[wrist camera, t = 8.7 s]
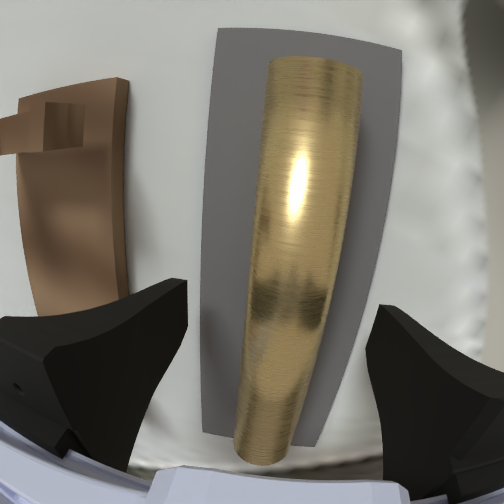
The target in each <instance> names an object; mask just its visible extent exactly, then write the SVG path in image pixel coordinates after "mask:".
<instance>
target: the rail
mask: <svg viewBox="0 0 504 504" xmlns="http://www.w3.org/2000/svg"><path fill="white" fill-rule="evenodd" d="M362 89H363V73H362V72H361V71H359V70H358V69H356V68H355V67H352V66H350V65H348V64H345V63H342V62H338V61H335V60H330V59H325V58H319V57H309V56H289V57H281V58H276V59H273V60H271V61H270V62H269V63H268V67H267V78H266V89H265V99H264V110H263V121H262V132H261V143H260V154H259V164H258V175H257V186H256V197H255V208H254V219H253V230H252V241H251V252H250V263H249V274H248V285H247V296H246V307H245V318H244V329H243V340H242V351H241V363H240V374H239V385H238V396H237V407H236V419H235V430H234V441H233V444H234V449H235V451H236V453H237V454H238V455H239V456H240V457H241V458H242V459H243V460H245V461H247V462H249V463H251V464H255V465H271V464H274V463H277V462H278V461H280V460H282V459H283V458H284V457H285V456H286V454H287V452H288V450H289V447H290V444H291V441H292V438H293V435H294V432H295V429H296V426H297V423H298V420H299V417H300V414H301V410H302V407H303V404H304V401H305V397H306V394H307V391H308V387H309V384H310V380H311V377H312V373H313V370H314V366H315V362H316V359H317V355H318V351H319V347H320V344H321V340H322V336H323V332H324V328H325V324H326V319H327V315H328V311H329V307H330V302H331V298H332V293H333V289H334V284H335V279H336V275H337V270H338V265H339V260H340V255H341V249H342V244H343V239H344V233H345V227H346V221H347V215H348V209H349V203H350V196H351V190H352V183H353V176H354V168H355V160H356V152H357V143H358V134H359V124H360V114H361V102H362Z"/></svg>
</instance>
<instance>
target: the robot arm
mask: <svg viewBox="0 0 504 504" xmlns="http://www.w3.org/2000/svg"><path fill="white" fill-rule="evenodd" d="M187 327H188V303H187V280H182V279H176V278H170V279H167V280H164V281H162V282H159V283H157V284H155V285H153V286H150V287H148V288H146V289H144V290H141V291H139V292H137V293H134V294H132V295H129V296H127V297H124V298H122V299H119V300H117V301H114V302H111V303H108V304H105V305H102V306H98V307H95V308H91V309H87V310H82V311H77V312H72V313H67V314H60V315H52V316H39V317H12V316H4V317H2V318H1V319H0V504H504V373H503V372H500V371H498V370H495V369H493V368H490V367H488V366H486V365H484V364H482V363H479V362H477V361H475V360H473V359H471V358H469V357H468V356H466V355H464V354H462V353H461V352H459V351H457V350H456V349H454V348H452V347H451V346H449V345H448V344H446V343H445V342H443V341H442V340H441V339H439V338H438V337H436V336H435V335H434V334H432V333H431V332H430V331H428V330H427V329H426V328H424V327H423V326H422V325H420V324H419V323H418V322H417V321H415V320H414V319H413V318H411V317H410V316H409V315H408V314H406V313H405V312H403V311H402V310H401V309H399V308H397V307H396V306H392V305H381V304H379V308H378V311H377V314H376V318H375V321H374V324H373V327H372V330H371V333H370V336H369V339H368V342H367V345H366V348H365V349H366V359H367V367H368V373H369V377H370V381H371V385H372V388H373V392H374V396H375V400H376V404H377V408H378V412H379V417H380V423H381V431H382V443H383V481H382V480H302V479H287V478H275V477H266V476H257V475H250V474H243V473H236V472H230V471H225V470H219V469H213V468H203V467H193V466H185V465H183V466H178V467H173V468H168V469H163V470H159V471H157V472H156V475H155V477H154V480H153V482H150V481H147V480H144V479H141V478H138V477H135V476H132V475H130V474H127V473H126V470H127V467H128V463H129V459H130V456H131V453H132V450H133V447H134V443H135V440H136V437H137V434H138V432H139V429H140V426H141V423H142V421H143V418H144V415H145V413H146V410H147V408H148V405H149V403H150V400H151V398H152V396H153V394H154V392H155V390H156V388H157V386H158V384H159V382H160V381H161V379H162V377H163V375H164V374H165V372H166V370H167V369H168V367H169V365H170V363H171V362H172V360H173V358H174V356H175V355H176V353H177V351H178V349H179V347H180V345H181V343H182V340H183V338H184V335H185V333H186V330H187Z"/></svg>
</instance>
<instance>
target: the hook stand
mask: <svg viewBox="0 0 504 504" xmlns="http://www.w3.org/2000/svg"><path fill="white" fill-rule="evenodd" d="M128 86H129V81H128V80H125V79H121V78H118V77H115V78H109V79H102V80H96V81H90V82H85V83H80V84H75V85H70V86H65V87H61V88H57V89H52V90H48V91H44V92H41V93H37V94H33V95H30V96H26V97H23V98H19V103H18V114H16V115H13V116H9V117H5V118H2V119H0V155H7V154H14V153H16V174H17V194H18V207H19V217H20V226H21V234H22V241H23V248H24V254H25V260H26V265H27V271H28V276H29V281H30V285H31V290H32V294H33V298H34V302H35V306H36V310H37V314H38V317H39V316H52V315H60V314H67V313H72V312H77V311H82V310H87V309H91V308H95V307H98V306H102V305H105V304H108V303H111V302H114V301H117V300H119V299H122V298H124V297H127V296H129V290H128V280H127V268H126V254H125V236H124V206H123V167H124V138H125V121H126V107H127V96H128Z"/></svg>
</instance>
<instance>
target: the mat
mask: <svg viewBox="0 0 504 504" xmlns="http://www.w3.org/2000/svg"><path fill="white" fill-rule="evenodd" d="M289 56H309V57H319V58H325V59H330V60H335V61H338V62H342V63H345V64H348V65H350V66H352V67H355V68H356V69H358V70H359V71H361V72H362V73H363V89H362V102H361V114H360V124H359V134H358V143H357V152H356V160H355V168H354V176H353V183H352V190H351V196H350V203H349V209H348V215H347V221H346V227H345V233H344V239H343V244H342V249H341V255H340V260H339V265H338V270H337V275H336V279H335V284H334V289H333V293H332V298H331V302H330V307H329V311H328V315H327V319H326V324H325V328H324V332H323V336H322V340H321V344H320V347H319V351H318V355H317V359H316V362H315V366H314V370H313V373H312V377H311V380H310V384H309V387H308V391H307V394H306V397H305V401H304V404H303V407H302V410H301V414H300V417H299V420H298V423H297V426H296V429H295V432H294V435H293V438H292V441H291V444H290V445H294V446H308V447H315V445H316V442H317V440H318V438H319V435H320V433H321V431H322V428H323V426H324V424H325V421H326V419H327V416H328V414H329V411H330V409H331V406H332V404H333V401H334V398H335V396H336V393H337V390H338V388H339V385H340V382H341V379H342V377H343V374H344V371H345V368H346V365H347V362H348V359H349V356H350V353H351V350H352V347H353V344H354V341H355V338H356V334H357V331H358V328H359V324H360V321H361V318H362V314H363V311H364V307H365V303H366V300H367V296H368V292H369V288H370V284H371V281H372V277H373V272H374V268H375V264H376V260H377V255H378V251H379V246H380V242H381V237H382V232H383V227H384V222H385V216H386V211H387V205H388V200H389V194H390V187H391V181H392V174H393V167H394V159H395V151H396V143H397V133H398V122H399V110H400V95H401V74H402V50H399V49H395V48H391V47H387V46H383V45H379V44H375V43H370V42H366V41H361V40H356V39H351V38H345V37H339V36H333V35H327V34H319V33H312V32H303V31H293V30H281V29H263V28H218V32H217V40H216V48H215V57H214V66H213V76H212V86H211V96H210V107H209V119H208V131H207V145H206V159H205V175H204V193H203V215H202V241H201V282H200V363H201V402H202V427H203V432H205V433H210V434H215V435H220V436H226V437H231V438H234V430H235V419H236V407H237V396H238V385H239V374H240V363H241V351H242V340H243V329H244V318H245V307H246V296H247V285H248V274H249V263H250V252H251V241H252V230H253V219H254V208H255V197H256V186H257V175H258V164H259V154H260V143H261V132H262V121H263V110H264V99H265V89H266V78H267V67H268V63H269V62H270V61H271V60H273V59H276V58H281V57H289Z"/></svg>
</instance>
